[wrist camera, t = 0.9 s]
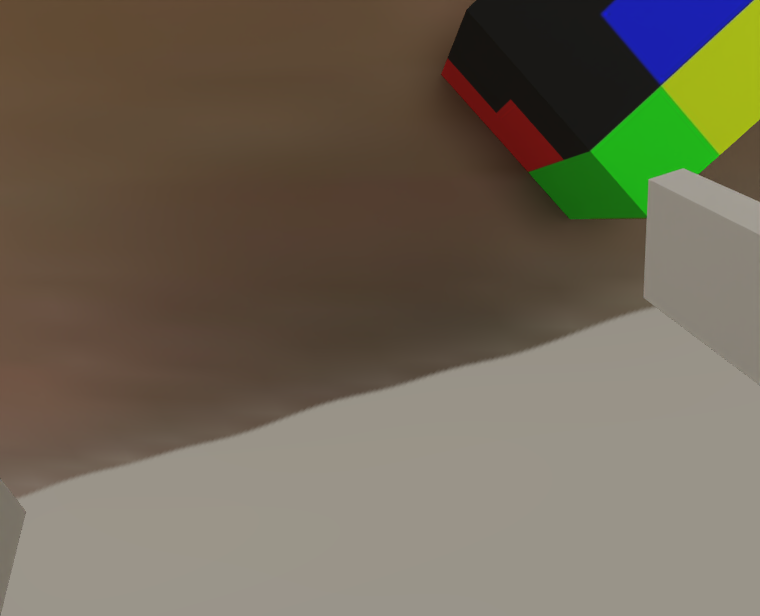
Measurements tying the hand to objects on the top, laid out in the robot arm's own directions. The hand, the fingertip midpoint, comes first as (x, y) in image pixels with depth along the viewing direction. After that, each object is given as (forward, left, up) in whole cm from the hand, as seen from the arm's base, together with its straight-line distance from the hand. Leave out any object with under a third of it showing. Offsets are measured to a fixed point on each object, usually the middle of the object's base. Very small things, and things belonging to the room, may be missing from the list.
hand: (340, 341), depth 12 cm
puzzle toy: (-5, +14, -22) cm, 26 cm away
